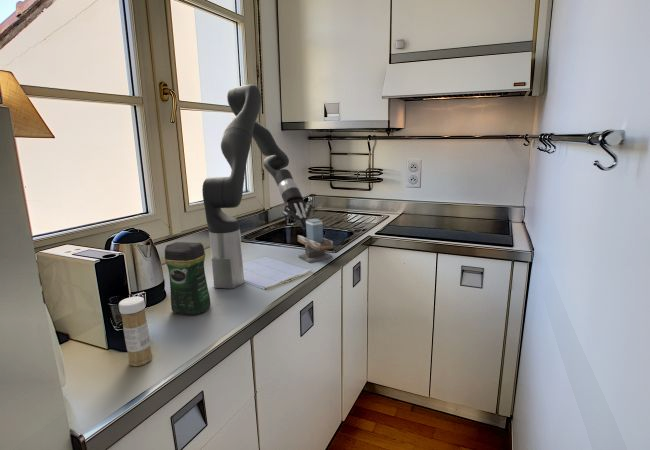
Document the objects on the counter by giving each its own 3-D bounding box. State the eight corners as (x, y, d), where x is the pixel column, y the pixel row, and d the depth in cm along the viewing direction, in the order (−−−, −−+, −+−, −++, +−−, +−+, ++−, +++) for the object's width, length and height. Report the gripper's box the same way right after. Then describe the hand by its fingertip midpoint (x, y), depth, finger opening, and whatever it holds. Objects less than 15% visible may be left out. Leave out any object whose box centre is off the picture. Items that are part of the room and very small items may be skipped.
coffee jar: (215, 304, 104) (209, 239, 100) (198, 318, 96) (190, 247, 92) (185, 301, 106) (177, 237, 102) (166, 314, 99) (157, 245, 95)
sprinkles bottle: (145, 352, 81) (136, 293, 78) (157, 359, 79) (148, 298, 76) (124, 362, 78) (113, 301, 75) (135, 370, 75) (125, 307, 72)
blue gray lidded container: (323, 241, 139) (322, 220, 138) (313, 243, 137) (312, 222, 136) (316, 239, 144) (315, 218, 142) (306, 240, 142) (305, 219, 140)
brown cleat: (338, 260, 138) (337, 240, 136) (314, 265, 133) (313, 245, 131) (315, 250, 151) (315, 232, 150) (293, 254, 146) (292, 236, 144)
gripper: (277, 188, 147) (293, 224, 139) (307, 185, 153) (324, 219, 146) (272, 200, 152) (287, 235, 145) (301, 196, 159) (317, 230, 152)
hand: (306, 227), depth 145 cm, fingers closed
